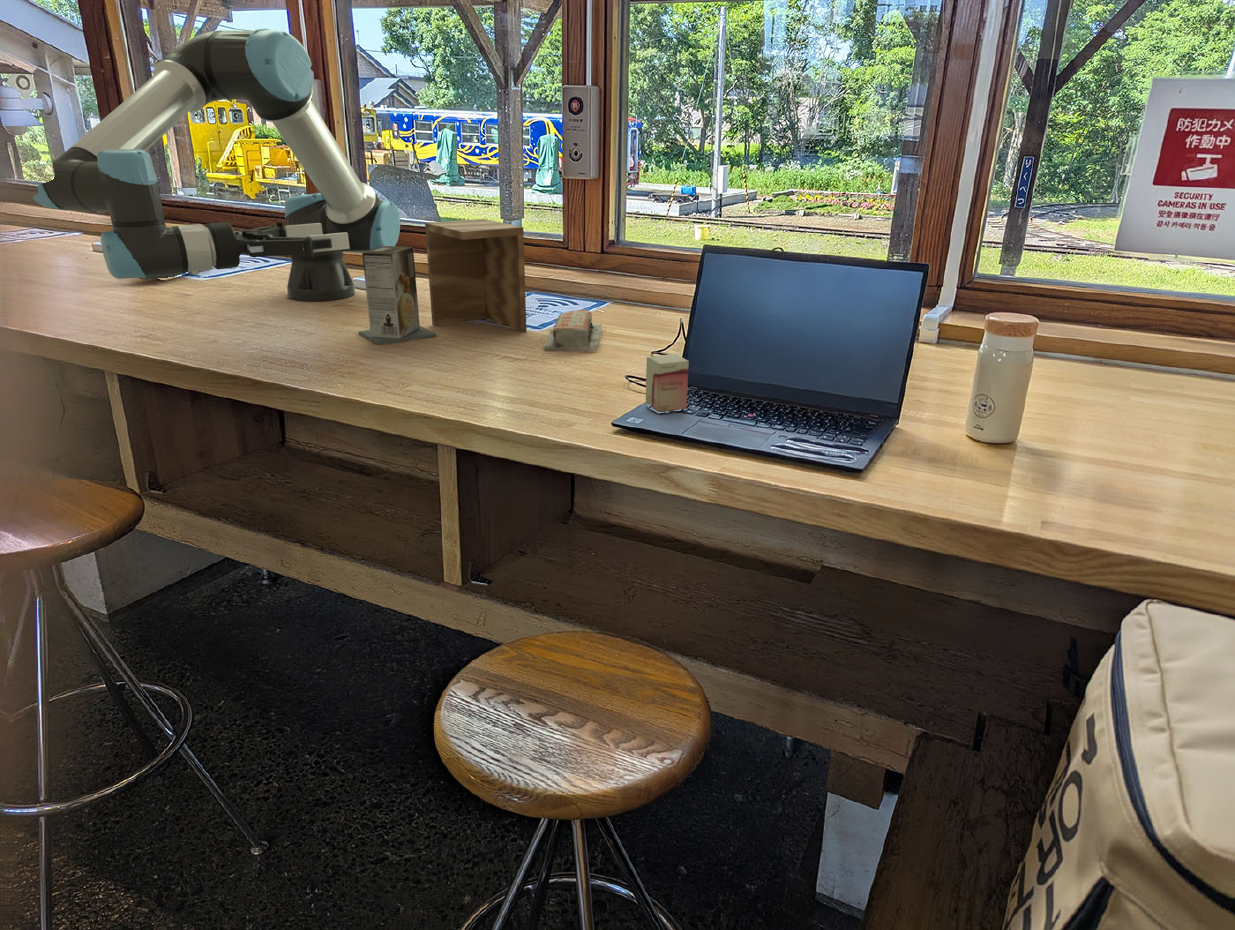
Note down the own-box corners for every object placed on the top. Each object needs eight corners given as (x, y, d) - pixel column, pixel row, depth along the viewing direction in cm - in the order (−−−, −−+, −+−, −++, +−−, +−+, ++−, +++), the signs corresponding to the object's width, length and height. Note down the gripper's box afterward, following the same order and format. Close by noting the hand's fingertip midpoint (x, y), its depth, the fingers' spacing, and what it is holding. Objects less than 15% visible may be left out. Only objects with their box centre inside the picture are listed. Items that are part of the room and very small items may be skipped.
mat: (358, 334, 170) (358, 331, 170) (415, 326, 177) (415, 323, 177) (377, 344, 163) (377, 341, 162) (436, 336, 169) (436, 333, 169)
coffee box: (390, 326, 174) (383, 245, 168) (420, 328, 173) (414, 246, 167) (369, 337, 166) (361, 251, 160) (400, 339, 164) (393, 253, 158)
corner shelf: (432, 324, 178) (424, 222, 171) (488, 317, 185) (483, 218, 178) (468, 340, 166) (462, 231, 159) (526, 331, 174) (523, 227, 166)
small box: (657, 415, 127) (658, 363, 124) (644, 407, 131) (645, 356, 128) (687, 411, 129) (689, 360, 126) (674, 403, 132) (676, 352, 129)
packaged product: (597, 328, 158) (543, 327, 159) (597, 354, 160) (544, 353, 160) (602, 307, 175) (553, 306, 175) (602, 331, 177) (553, 330, 177)
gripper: (196, 258, 155) (314, 246, 167) (233, 282, 137) (362, 267, 148) (188, 215, 152) (308, 206, 164) (224, 233, 134) (357, 222, 145)
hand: (334, 235), depth 156 cm, fingers open, 13 cm apart
